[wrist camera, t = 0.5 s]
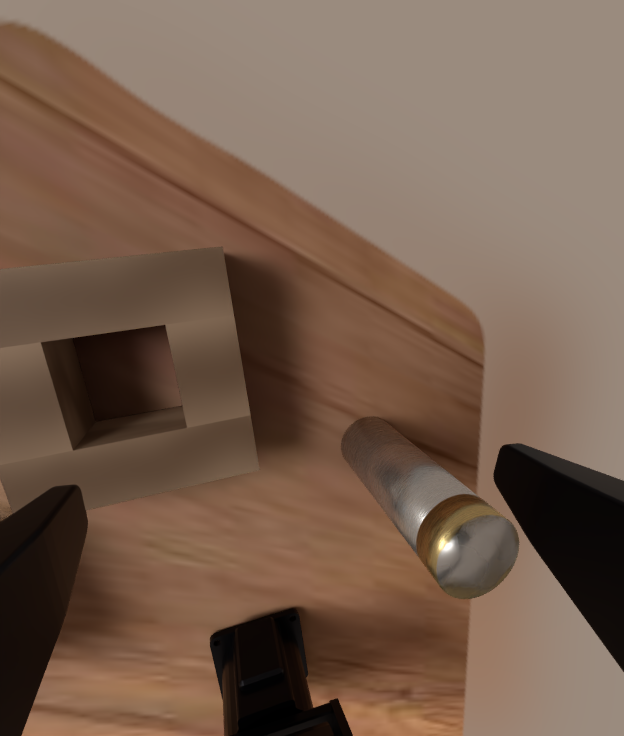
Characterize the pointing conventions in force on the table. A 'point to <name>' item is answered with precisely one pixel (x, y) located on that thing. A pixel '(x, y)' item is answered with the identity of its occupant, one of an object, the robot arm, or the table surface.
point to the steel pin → (432, 510)
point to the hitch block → (68, 390)
